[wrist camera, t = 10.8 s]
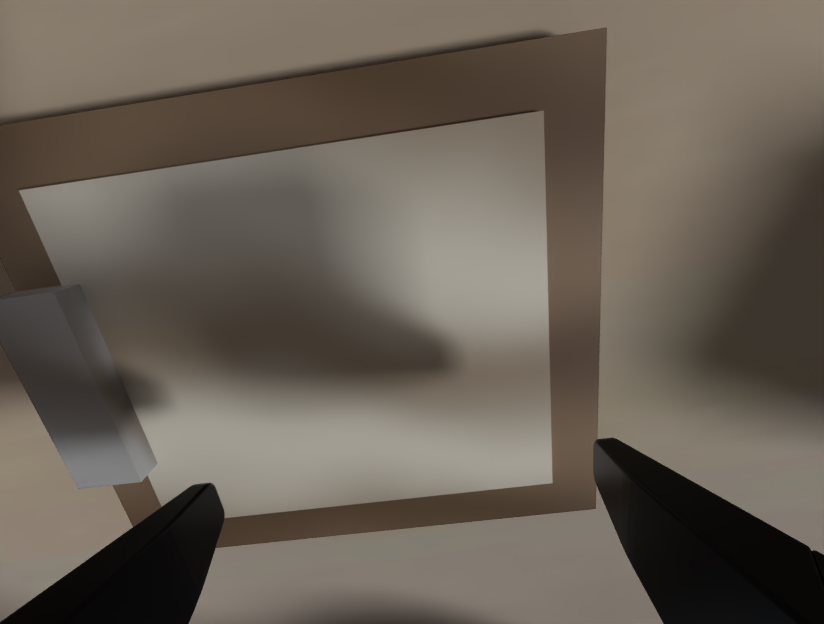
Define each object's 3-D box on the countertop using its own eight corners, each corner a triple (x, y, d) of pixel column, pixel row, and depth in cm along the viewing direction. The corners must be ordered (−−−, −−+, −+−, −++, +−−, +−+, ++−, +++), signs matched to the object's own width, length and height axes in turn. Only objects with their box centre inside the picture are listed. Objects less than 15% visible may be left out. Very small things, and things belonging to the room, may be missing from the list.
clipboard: (581, 482, 14) (609, 534, 12) (166, 526, 15) (127, 582, 13) (584, 44, 10) (630, 9, 8) (-10, 139, 11) (-113, 130, 9)
